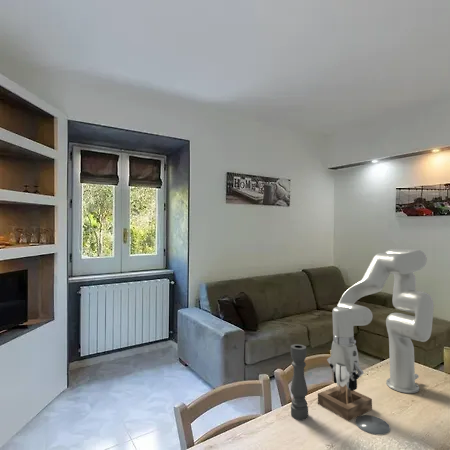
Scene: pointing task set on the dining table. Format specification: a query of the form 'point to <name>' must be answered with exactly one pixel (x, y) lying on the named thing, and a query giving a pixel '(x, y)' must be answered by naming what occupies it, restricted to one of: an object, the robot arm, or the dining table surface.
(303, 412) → the candle holder
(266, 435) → the dining table surface
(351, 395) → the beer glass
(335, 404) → the frame
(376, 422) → the coaster
